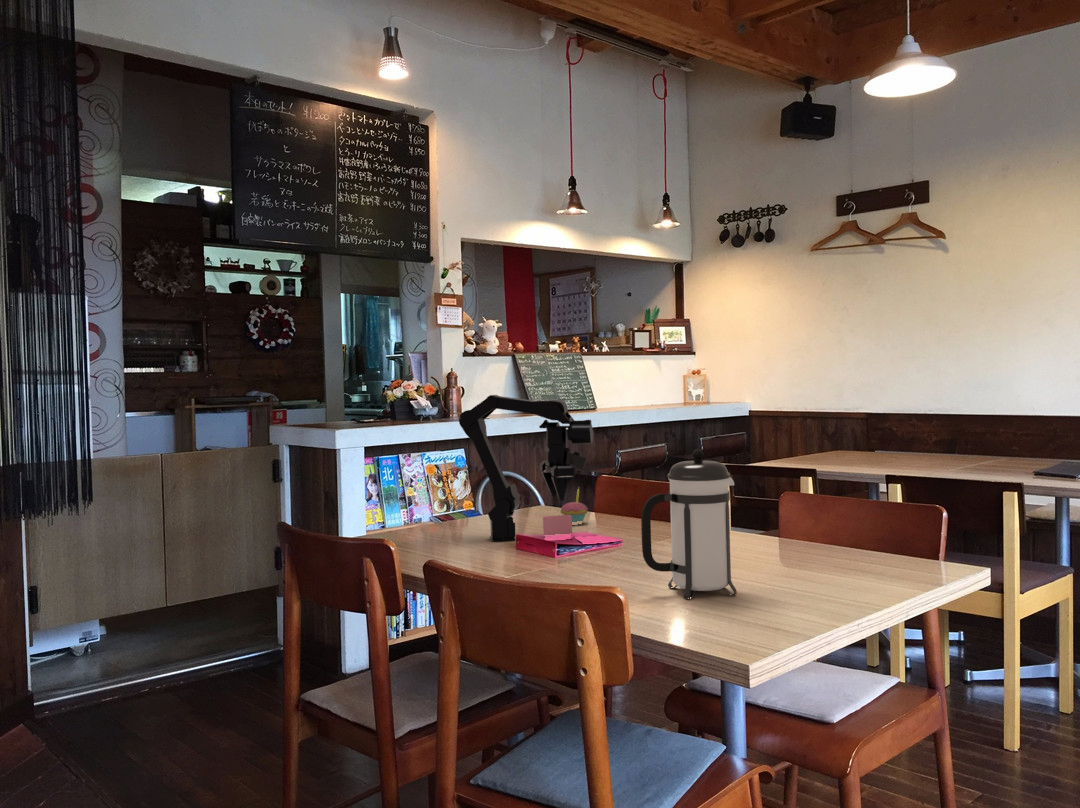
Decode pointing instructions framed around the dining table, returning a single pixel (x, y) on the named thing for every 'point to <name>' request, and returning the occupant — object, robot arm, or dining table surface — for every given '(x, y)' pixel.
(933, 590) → the dining table surface
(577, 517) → the cupcake
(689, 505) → the coffee press
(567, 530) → the pink rectangular block
